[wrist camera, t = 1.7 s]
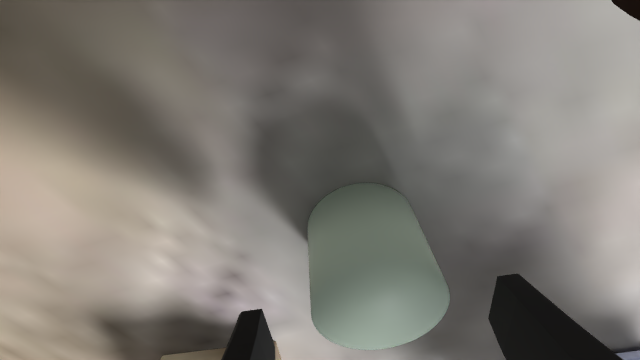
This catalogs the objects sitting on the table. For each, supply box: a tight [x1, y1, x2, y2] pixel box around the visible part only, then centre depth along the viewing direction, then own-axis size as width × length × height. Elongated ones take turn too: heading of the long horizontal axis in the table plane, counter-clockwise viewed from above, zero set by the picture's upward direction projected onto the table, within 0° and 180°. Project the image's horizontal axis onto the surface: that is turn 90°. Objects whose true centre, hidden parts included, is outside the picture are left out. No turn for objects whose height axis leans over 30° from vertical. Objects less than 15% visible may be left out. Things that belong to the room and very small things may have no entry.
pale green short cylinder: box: [307, 183, 450, 350], centre depth 13 cm, size 4×4×4 cm
